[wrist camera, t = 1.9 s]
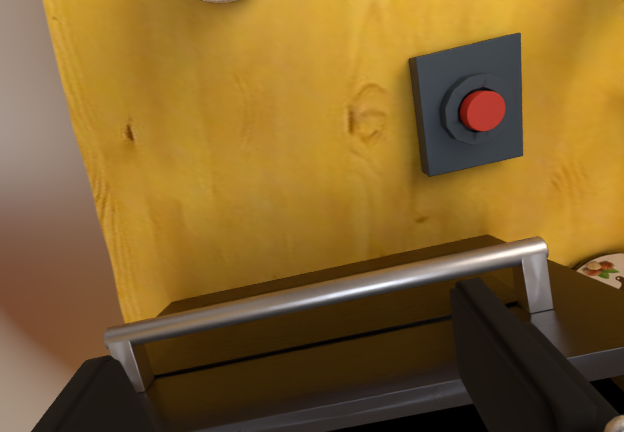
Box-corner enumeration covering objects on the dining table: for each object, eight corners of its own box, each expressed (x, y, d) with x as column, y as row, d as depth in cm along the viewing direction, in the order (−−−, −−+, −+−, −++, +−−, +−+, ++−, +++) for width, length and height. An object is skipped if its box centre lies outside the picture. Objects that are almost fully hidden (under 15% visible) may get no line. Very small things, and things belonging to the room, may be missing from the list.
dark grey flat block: (408, 58, 37) (420, 56, 33) (507, 35, 37) (531, 30, 33) (422, 171, 41) (434, 180, 38) (511, 151, 41) (532, 159, 37)
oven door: (161, 265, 46) (-38, 394, 20) (481, 195, 44) (709, 239, 18) (175, 313, 46) (0, 494, 21) (490, 246, 44) (719, 357, 19)
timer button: (457, 95, 35) (465, 96, 33) (495, 86, 35) (505, 87, 33) (460, 132, 36) (468, 135, 35) (497, 124, 36) (506, 126, 34)
